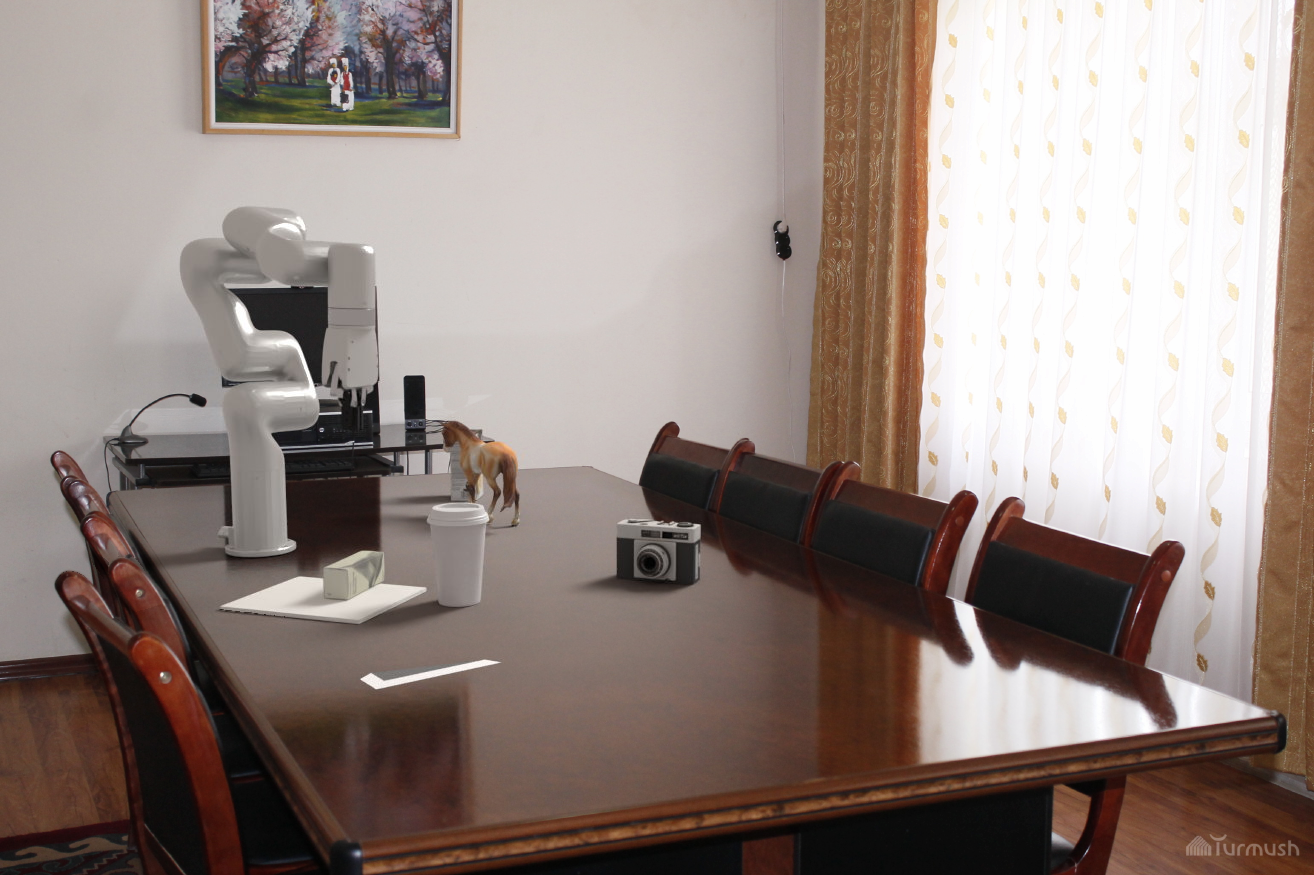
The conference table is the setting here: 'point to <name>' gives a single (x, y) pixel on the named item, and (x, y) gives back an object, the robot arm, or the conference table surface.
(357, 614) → the mat
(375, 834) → the conference table surface
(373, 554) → the box
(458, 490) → the coffee box
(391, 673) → the white l-shaped strip
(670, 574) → the camera
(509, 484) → the horse figurine
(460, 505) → the coffee cup
